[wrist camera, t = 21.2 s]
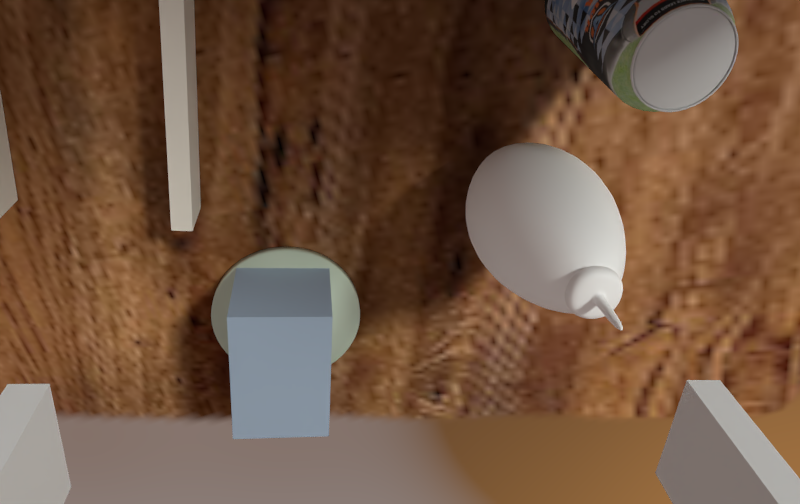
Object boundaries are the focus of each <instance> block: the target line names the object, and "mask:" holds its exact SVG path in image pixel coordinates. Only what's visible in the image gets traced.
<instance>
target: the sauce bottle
mask: <svg viewBox="0 0 800 504" xmlns="http://www.w3.org/2000/svg"><path fill="white" fill-rule="evenodd" d="M466 223H467V229H468V234H469V237H470V240H471V243H472V245H473V247H474V249H475V251H476V253H477V255H478V257H479V259H480V260H481V262H482V263H483V264H484V266H485V267H486V268H487V269H488V270H489V272H490V273H491V274H492V275H493V276H494V277H495V278H496V279H497V280H498V281H499V282H500V283H501V284H502V285H504V286H505V287H506V288H508V289H509V290H511V291H512V292H514V293H515V294H517V295H518V296H520V297H521V298H523V299H525V300H527V301H529V302H531V303H534V304H536V305H538V306H541V307H544V308H546V309H550V310H554V311H558V312H563V313H574V314H576V315H577V316H580V317H582V318H587V319H595V318H600V317H604V316H606V318H607V319H608V320H609V321H610V322H611V323H612V324H613V325H614V326H615V327H616V328H617V329H619V330H623V327H622V324H621V322H620V320H619V318H618V317H617V315H616V313H615V312H614V309H615V308H616V306H617V305H618V303H619V301H620V299H621V296H622V291H623V285H622V281H621V280H622V277H623V273H624V267H625V260H626V244H625V234H624V228H623V223H622V220H621V217H620V214H619V211H618V208H617V205H616V203H615V200H614V198H613V197H612V195H611V193H610V192H609V190H608V189H607V187H606V186H605V184H604V183H603V182H602V180H601V179H600V177H599V176H598V175H597V174H596V173H595V172H594V171H593V170H592V169H591V168H589V167H588V166H587V165H586V164H585V163H583V162H582V161H581V160H580V159H578V158H577V157H575V156H573V155H571V154H569V153H567V152H565V151H563V150H561V149H559V148H556V147H552V146H549V145H545V144H538V143H516V144H512V145H508V146H504V147H502V148H500V149H498V150H496V151H494V152H493V153H492V154H490V155H489V156H488V157H486V159H485V160H484V161H483V162H482V163H481V164H480V166H479V167H478V169H477V170H476V172H475V174H474V176H473V178H472V181H471V183H470V186H469V189H468V194H467V199H466Z"/></svg>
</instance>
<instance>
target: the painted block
mask: <svg viewBox="0 0 800 504" xmlns="http://www.w3.org/2000/svg"><path fill="white" fill-rule="evenodd" d="M332 319H333V316H332V300H331V285H330V270H329V268H236V273H235V278H234V283H233V288H232V293H231V299H230V304H229V309H228V314H227V330H228V350H229V370H230V390H231V410H232V430H233V439H251V438H284V437H314V436H315V437H317V436H329V414H330V382H331V351H332Z"/></svg>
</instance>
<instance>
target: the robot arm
mask: <svg viewBox="0 0 800 504" xmlns="http://www.w3.org/2000/svg"><path fill="white" fill-rule="evenodd" d="M656 475H657V477H658V478H659V480H660V482H661V484H662V485H663V487H664V489H665V491H666V493H667V494H668V496H669V498H670V500H671V501H672V503H673V504H800V479H799V477H798V476H797V475H796V474H795V473H794V471H793V470H792V469H791V467H790V466H789V465H788V464H787V463H786V461H785V460H784V459H783V458H782V456H781V455H780V454H779V453H778V452H777V450H776V449H775V448H774V447H773V445H772V444H771V443H770V442H769V440H768V439H767V438H766V437H765V436H764V434H763V433H762V432H761V431H760V429H759V428H758V427H757V425H756V424H755V423H754V422H753V421H752V419H751V418H750V417H749V416H748V414H747V413H746V412H745V411H744V409H743V408H742V407H741V406H740V404H739V403H738V402H737V401H736V400H735V398H734V397H733V396H732V395H731V393H730V392H729V391H728V390H727V388H726V387H725V386H724V385H723V383H722V382H721V381H720V380H687V382H686V385H685V387H684V390H683V393H682V396H681V399H680V402H679V405H678V408H677V411H676V414H675V417H674V420H673V423H672V426H671V429H670V432H669V434H668V437H667V440H666V444H665V446H664V449H663V452H662V455H661V458H660V461H659V464H658V467H657V470H656ZM70 488H71V483H70V478H69V473H68V469H67V465H66V459H65V455H64V450H63V445H62V440H61V436H60V431H59V426H58V421H57V417H56V412H55V407H54V402H53V398H52V393H51V388H50V384H7V386H6V387H5V389H4V390H3V392H2V394H1V395H0V504H64V503H65V500H66V498H67V496H68V493H69V491H70Z"/></svg>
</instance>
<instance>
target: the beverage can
mask: <svg viewBox="0 0 800 504" xmlns="http://www.w3.org/2000/svg"><path fill="white" fill-rule="evenodd" d="M545 14H546V18H547V21H548V23H549V26H550V28H551V29H552V31H553V32H554V33H555V35H556V36H557V37H558V38H559V39H560V40H561V41H562V42H563V43H564V44H565V45H566V46H567V47H568V48H569V49H570V50H571V51H572V52H573V53H574V54H575V55H576V56H577V57H578V58H579V59H580V60H581V61H582V62H583V63H584V64H585V65H586V66H587V67H588V68H589V69H590V70H591V71H592V72H593V73H594V74H595V75H596V76H597V77H598V78H599V79H600V80H601V81H602V82H603V83H604V84H605V85H606V86H607V87H608V88H609V89H610V90H611V91H612V92H613V93H614V94H615V95H616V96H618V97H619V98H620V99H621V100H622V101H623V102H624V103H626V104H628V105H630V106H632V107H633V108H636V109H640V110H643V111H653V112H657V111H662V112H676V111H681V110H685V109H688V108H690V107H693V106H695V105H697V104H699V103H701V102H702V101H704V100H705V99H707V98H708V97H709V96H711V95H712V94H713V93H714V92H715V91H716V90H717V89H718V88H719V87H720V86H721V85H722V83H723V82H724V81H725V80H726V78H727V76H728V75H729V73H730V72H731V70H732V67H733V65H734V63H735V60H736V56H737V53H738V33H737V29H736V26H735V21H734V17H733V14H732V10H731V8H730V6H729V5H728V3H727V1H726V0H545Z"/></svg>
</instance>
